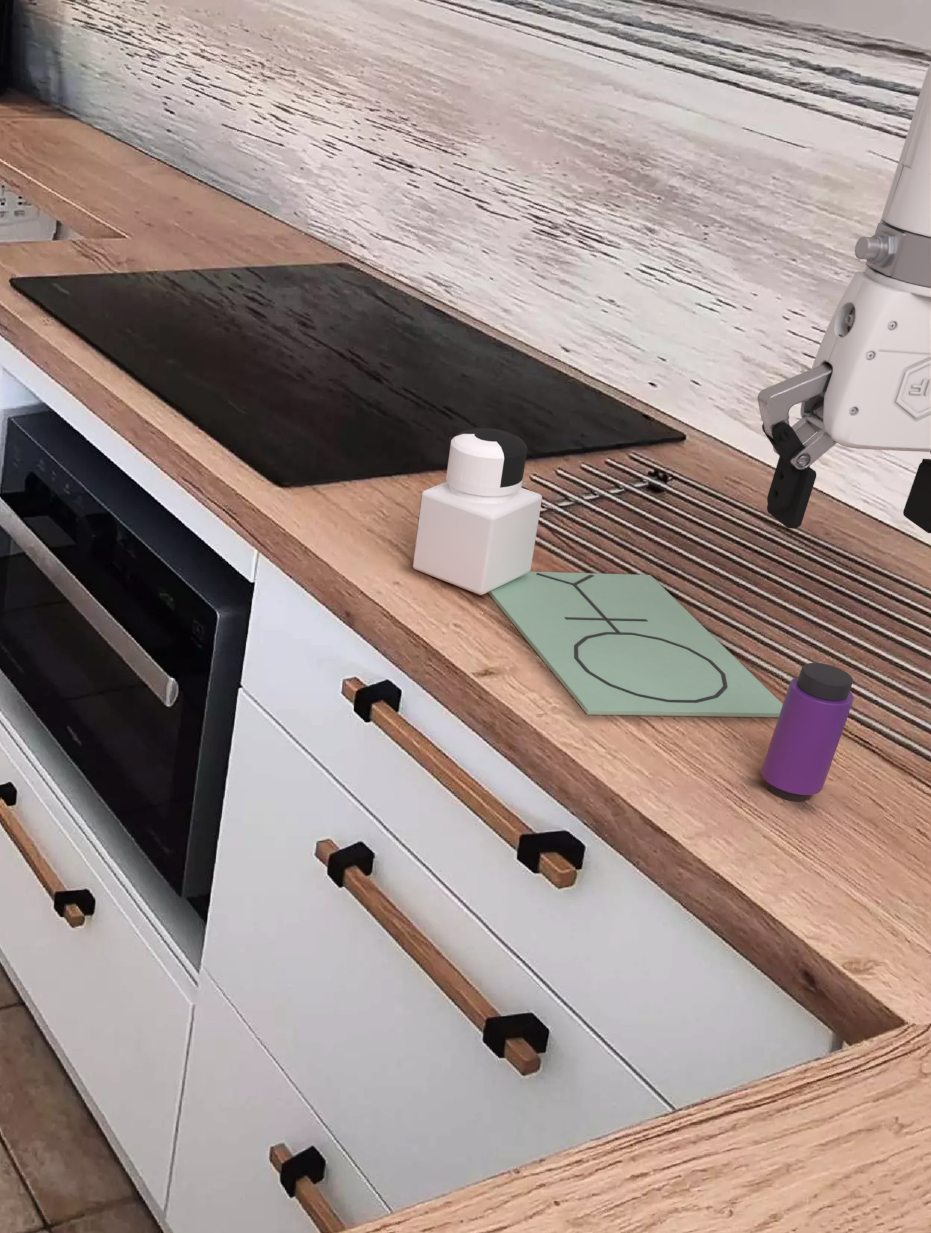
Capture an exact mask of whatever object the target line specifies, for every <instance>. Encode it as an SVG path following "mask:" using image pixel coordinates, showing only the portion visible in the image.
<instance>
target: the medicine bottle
mask: <svg viewBox="0 0 931 1233" xmlns="http://www.w3.org/2000/svg"><path fill="white" fill-rule="evenodd" d="M527 454H528V446H527V444H526V443H525V441H524V439H522V438H520V437H519V436H517V435H515V434H513V433H512V432H509V431H506V430H502V429H498V428H491V427H490V428H489V427H478V428H477V427H476V428H470V429H467V430H462V431H460V432H458V433H456V434H455V435H454V436H453V437H452V438H451V440H450V446H449V454H448V461H447V468H446V477H445V478H446V479H445V480H446V481H445V482H442V483H439V484H436V485H435V486H432V487H429V488H426V489H425V490H423V491H422V492H421V495H420V505H419V512H418V513H419V514H418V520H417V528H416V536H415V544H414V552H413V561H412V567H413V569H414V570H416V571H417V572H421V573H423V574H425V575H428V576H431V577H434V578H436V579H438V580H441V581H443V582H446V583H449V584H450V585H453V586H456V587H458V588H461V589H463V590H466V591H468V592H471V593H473V594H477V595H479V596H483V595H486V594H488V593H487V592H489V591H491V590H493V589H496V588H498V587H500V586H502V585H504V584H506V583H508V582H510V581H512V580H514V579H516V578H518V577H520V576H523V575H525V574H527V573H529V572H531V570H532V565H533V564H532V563H533V558H534V551H535V546H536V538H537V533H538V527H539V520H540V514H541V509H542V502H543V501H542V500H543V496H542V494H540V493H539V492H536V491H532V490H530V489H529V490H528V489H527V488H524V487H523V480H524V474H525V467H526V461H527Z"/></svg>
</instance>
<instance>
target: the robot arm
mask: <svg viewBox="0 0 931 1233" xmlns="http://www.w3.org/2000/svg"><path fill="white" fill-rule="evenodd" d="M854 255H855V257H856V258H857V259H858V260H865V261H866V262H865V265H866V266H865V269H864V271H856V272H855V273H854V275H853V277H852V278H851V280H850V282H849V283H848V285H847V287H846V289H845V290H844V292H843V294H842V297H841V298H840V300H839V302H838V304H837V306H836V308H835V310H834V313H833V315H832V317H831V319H830V321H829V323H828V326H827V327H826V331H825V332H824V335H823V337H822V339H821V342H820V345H819V347H818V350H817V353H816V355H815V357H814V360H813V364H812V367H811V369H809V370H806V371H803V372H801V373H799V374H796V375H794V376H791V377H789V378H787V379H785V380H782V381H780V382H778V383H777V382H776V383H775V384H773V385H771V386H768V387H766V388H763V389H762V390H761V391H759V392H758V394H757V404H758V408H759V413H760V418H761V420H762V425H761V429H762V432H763V433H764V435H765V436H766V438H767V439H768V441H769V443H770V444H771V445H772V449H773V452H774V453H775V454H776V455H778V456H779V457H778V460H777V463H776V467H775V470H774V473H773V477H772V479H771V483H770V486H769V489H768V493H767V496H766V501H767V502H766V503H767V505H766V511H767V513H768V514H769V515H771V516H772V517H773V518H774V519H775V520H776V521H777V522H779V523H780V524H782V525H783V526H784V527H785V528H786V529H795V530H796V529H798V528H799V527H801V526H802V523H803V521H804V518H805V515H806V510H807V508H808V504H809V501H810V498H811V495H812V492H813V488H814V486H815V482H816V479H817V471H816V470H815V469H813V468H812V467H811V466H812V465H813V464H814V463H815V462H816V461H817V460H819V458H822V456H823V455H825V453H827V452H828V451H829V450H830V449H832V448H833V447H834V446H835V445H836V444H838V445H840V446H842V447H846V448H848V449H849V448H850V449H856V450H857V449H859V450H877V451H897V452H922V453H923V452H924V453H930V454H931V62H930V63H929V65H928V68H927V71H926V73H925V76H924V78H923V82H922V86H921V88H920V92H919V94H918V99H917V102H916V105H915V108H914V111H913V115H912V118H911V121H910V124H909V128H908V130H907V133H906V137H905V140H904V143H903V147H902V149H901V153H900V156H899V160H898V163H897V167H896V169H895V173H894V176H893V179H892V182H891V186H890V188H889V192H888V196H887V199H886V201H885V205H884V208H883V211H882V214H881V218H880V221H879V222H878V223H877V226H876V229H875V233H874V234H873V235H872V236H861V237H859V238H858V239H857V241H856V244H855V246H854ZM800 403H801V405H800V417H801V418H800V419H798V421H796V422H795V423H794V424H793V425H792V426H791V425H790V420H789V419H790V413H789V412H790V410H791V408H792V407H793V406H795V405H798V404H800ZM902 513H903V516H904V518H906V519H907V520H909V521H910V522H912V523H913V524H914V525H915V526H917V527H919V528H920V529H921V530H923V531H924V532H926V533H927V534H931V458H922V460H921V462H920V463H919V464H918V467H917V470H916V473H915V476H914V478H913V482H912V485H911V487H910V490H909V493H908V497H907V499H906V502H905V505H904V509H903V512H902Z"/></svg>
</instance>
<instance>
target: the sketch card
mask: <svg viewBox="0 0 931 1233" xmlns="http://www.w3.org/2000/svg"><path fill="white" fill-rule="evenodd" d="M486 594H488V595H489V597H490V598H491V599H492V600H493V602H494V603H495V604H496V605H497V607H498V608H499V609H500V610H501V611H502V612H503V614H504V615H505V616H506V618H507V619H508V620H509V621H510V622H511V623H512V625H513V626H514V627H515V628H516V630H518V632H519V633H520V634H521V636H522V637H523V639H525V640H526V642H527V643H528V644H529V646H530V647H531V648H532V649H533V650H534V651H535V653H536V654H537V656H539V658H540V659H541V660H542V661H543V663H544V664H545V665H546V666H547V667H548V669H549V670H550V672H552V674H553V675H554V676H555V677H556V678H557V680H558V681H559V682H560V684H562V686H563V687H564V688H565V689H566V691H567V692H568V693H569V695H570V696H571V697H572V698H573V699H574V701H575V702H576V703H577V704H578V705H579V707H581V709H582V710H583V711H584V713H585V714H586V715H587V716H588V715H589V716H591V715H592V716H593V715H595V716H655V717H656V716H657V717H658V716H660V717H662V716H663V717H722V718H723V717H724V718H725V717H726V718H779V715H780V712H781V709H782V706H783V703H782V702H781V701H780V700H779V699H778V698H777V697H776V696H775V694H773V693H772V692H771V691H770V690H769V689H768V688H767V687H766V686H765V685H764V684H763V683H762V682H761V681H760V680H758V678H757V677H756V676H755V675H754V674H753V673H752V672H750V670H748V669H747V668H746V667H745V666H744V664H742V663H741V662H740V661H739V660H738V659H737V658H736V657H735V655H733V654H732V653H731V652H730V651H729V650H728V649H727V648H726V647H725V646H724V645H723V644H722V643H721V642H720V641H719V640H718V639H717V638H715V637H714V635H712V634H711V632H710V631H708V630H707V629H706V628H705V627H704V626H703V625H702V624H701V623H700V621H698V620H697V619H696V618H695V617H694V616H693V615H692V614H691V613H690V612H689V611H688V610H687V609H686V608H685V607H684V606H683V605H682V604H681V603H680V602H678V601H677V600H676V598H675V597H673V596H672V595H671V593H669V591H667V590H666V589H665V587H663V585H661V584H660V583H659V582H658V581H657V580H656V579H655V578H654V577H653V576H652V575H651V574H631V573H629V574H627V573H597V572H596V573H595V572H594V573H593V572H564V571H563V572H559V571H558V572H556V571H530V572H529V573H527V574H525V575H523V576H520V577H518V578H516V579H514V580H512V581H510V582H508V583H506V584H504V585H502V586H500V587H498V588H496V589H493V590H491V591H489V592H487V593H486Z"/></svg>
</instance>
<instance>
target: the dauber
mask: <svg viewBox="0 0 931 1233" xmlns="http://www.w3.org/2000/svg"><path fill="white" fill-rule="evenodd" d="M853 683H854V678H853V676H852V675H851V674H850V673H848V672H847V671H846V670H843V669H841V668H839V667H837V666H834V665H832V664H827V663H822V662H808V663H805V664H803V665H802V666H801V669H800V672H799V675H798V676H796V677H794V678H792V679H791V680H790V682H789V684H788V688H787V690H786V693H785V696H784V700H783V703H782V704H783V706H782V709H781V712H780V715H779V717H777V721H776V724H775V726H774V729H773V733H772V736H771V739H770V742H769V746H768V749H767V751H766V755H765V758H764V761H763V763H762V766H761V770H760V774H761V776H762V778H763V779H764V780H765V785H764V786H765V788H766V789H767V790H768V791H769V792H770V793H771V794H773V795H774V796H776V797H779V798H781V799H784V800H787V801H791V802H806V801H808V800H810V799H811V798H812V796H814V795H816V794H819V793H821V792H822V791H823V789H824V786H825V783H826V780H827V777H828V774H829V772H830V769H831V766H832V763H833V759H834V757H835V755H836V751H837V750H838V746H839V743H840V740H841V738H842V735H843V732H844V729H845V726H846V723H847V720H848V717H849V714H850V711H851V709H852V706H853V703H854V699H855V697H854V695H853V693H852V691H851V688H852V685H853Z"/></svg>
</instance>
